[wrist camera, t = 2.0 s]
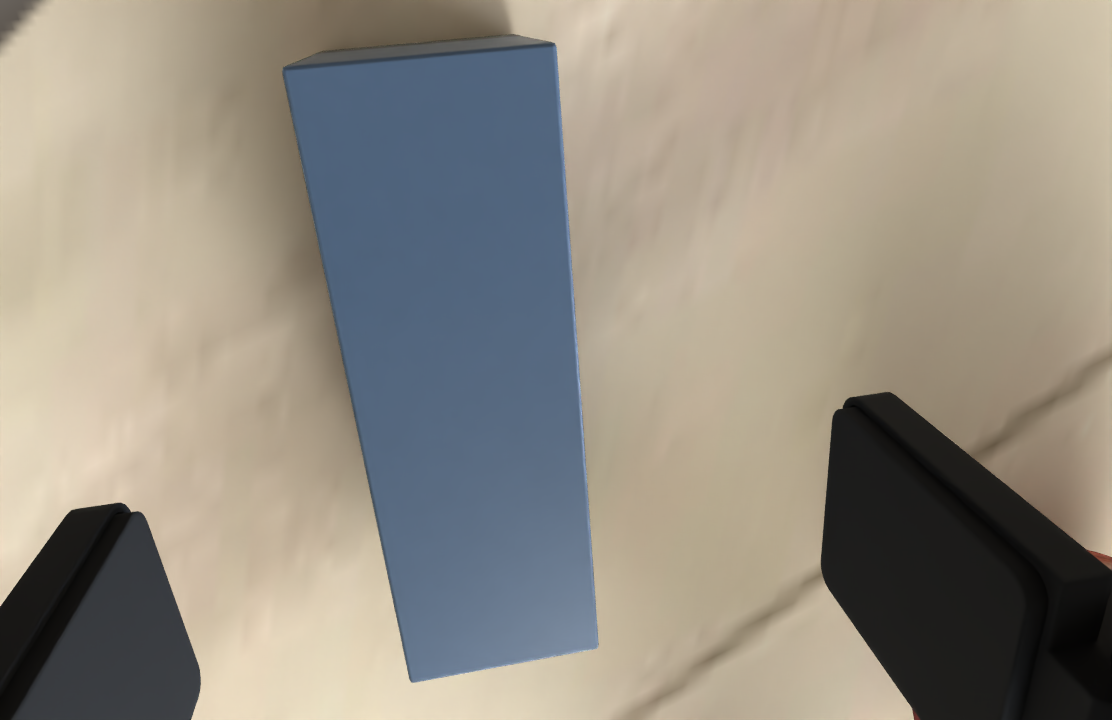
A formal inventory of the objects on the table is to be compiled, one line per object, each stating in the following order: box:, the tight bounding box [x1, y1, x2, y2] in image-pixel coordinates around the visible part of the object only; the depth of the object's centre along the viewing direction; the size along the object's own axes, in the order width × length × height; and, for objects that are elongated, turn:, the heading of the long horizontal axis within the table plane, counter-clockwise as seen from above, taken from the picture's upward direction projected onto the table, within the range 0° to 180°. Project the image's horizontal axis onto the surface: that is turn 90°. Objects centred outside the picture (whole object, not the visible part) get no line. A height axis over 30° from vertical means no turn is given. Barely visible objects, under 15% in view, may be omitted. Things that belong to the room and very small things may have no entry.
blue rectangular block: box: [282, 34, 599, 683], centre depth 16 cm, size 12×4×5 cm, turn 4°
